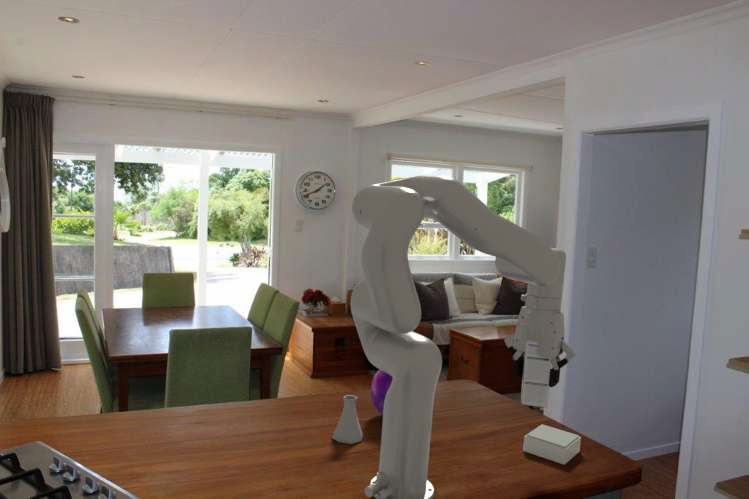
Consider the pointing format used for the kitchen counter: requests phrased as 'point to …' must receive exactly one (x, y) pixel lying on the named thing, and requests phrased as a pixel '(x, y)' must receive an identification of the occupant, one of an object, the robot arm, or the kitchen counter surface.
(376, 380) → the decorative orb
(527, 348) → the syrup box
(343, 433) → the flask
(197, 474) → the kitchen counter surface
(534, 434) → the block
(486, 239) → the robot arm
